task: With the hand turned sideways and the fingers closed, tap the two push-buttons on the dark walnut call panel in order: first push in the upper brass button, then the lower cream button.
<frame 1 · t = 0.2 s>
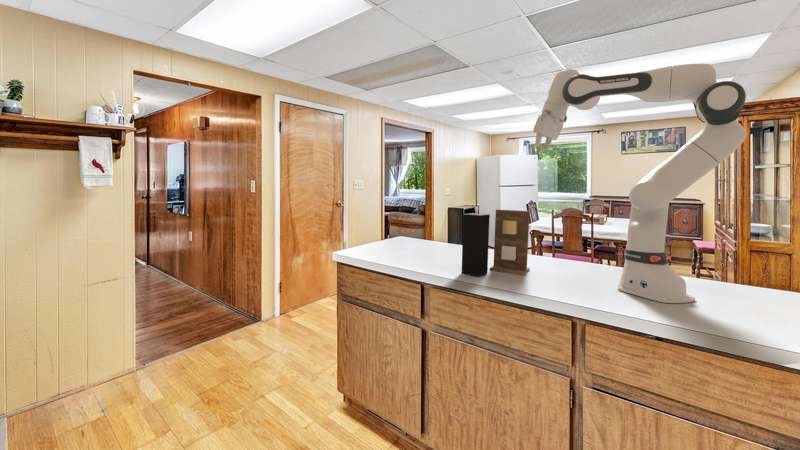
hand: (540, 147, 146), 52 cm above the worktop, tool tilted 15°, fingers open, 8 cm apart
call panel: (509, 270, 156), on the worktop
upper button: (511, 226, 154), point 19 cm above the worktop, slide at 0.0 cm
lower button: (510, 252, 155), point 8 cm above the worktop, slide at 0.0 cm
tall black box: (474, 274, 150), on the worktop
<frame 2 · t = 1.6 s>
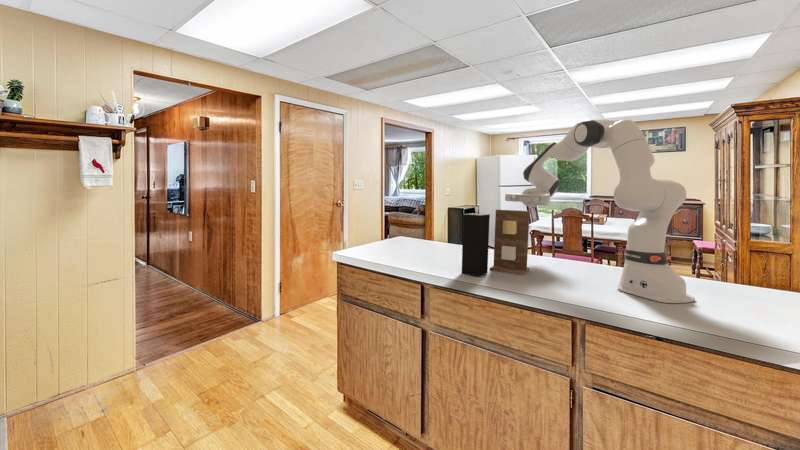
hand: (523, 198, 165), 30 cm above the worktop, tool horizontal, fingers open, 7 cm apart
nothing on the worktop moved.
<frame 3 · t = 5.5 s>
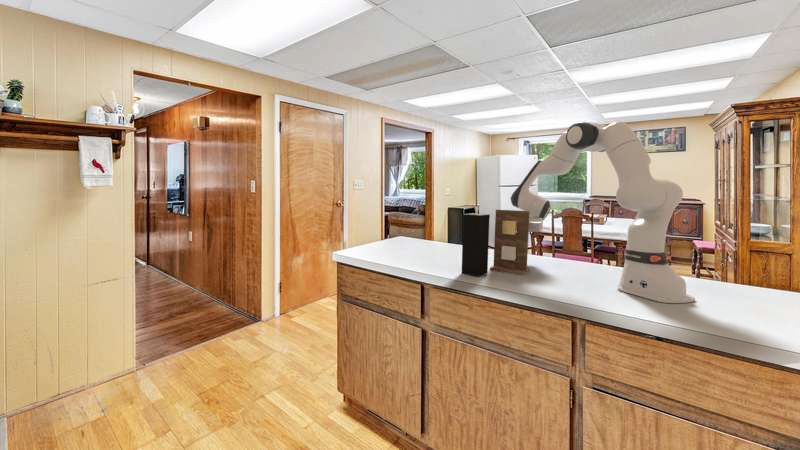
hand: (513, 226, 156), 19 cm above the worktop, tool horizontal, fingers closed, pressing on upper button
upper button: (511, 226, 153), point 19 cm above the worktop, slide at 0.6 cm, touching gripper
everything else where it was.
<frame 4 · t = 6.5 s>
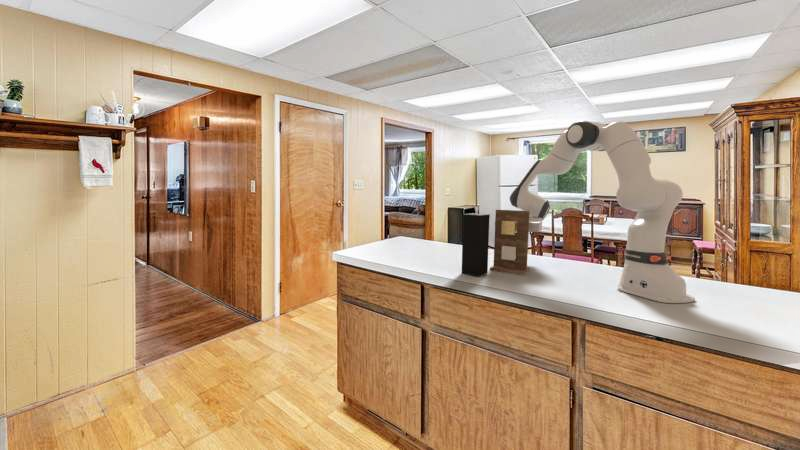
hand: (513, 226, 155), 19 cm above the worktop, tool horizontal, fingers closed
upper button: (510, 227, 153), point 19 cm above the worktop, slide at 1.7 cm
everything else where it was.
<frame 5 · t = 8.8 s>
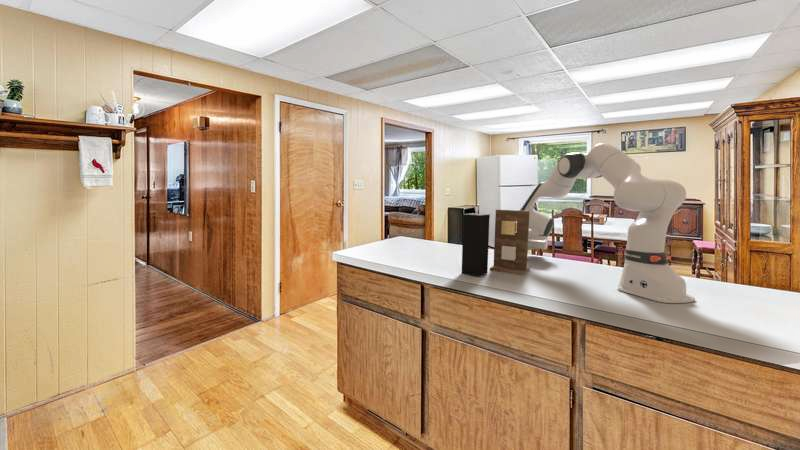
hand: (520, 244, 168), 9 cm above the worktop, tool horizontal, fingers closed
nothing on the worktop moved.
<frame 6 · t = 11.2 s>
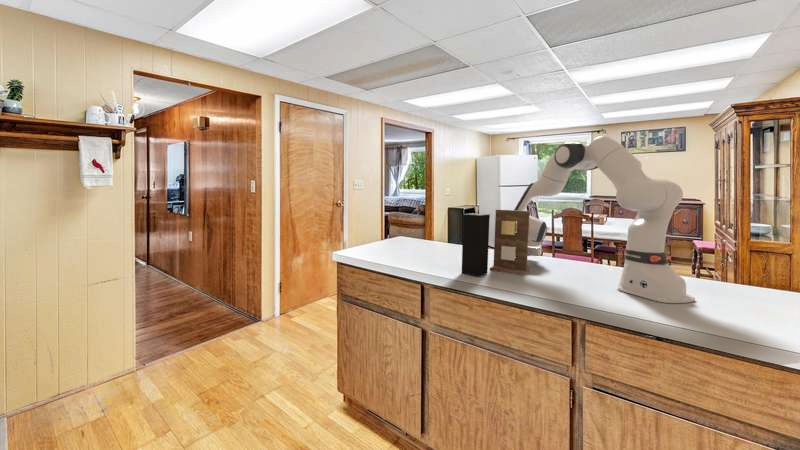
hand: (513, 251, 158), 8 cm above the worktop, tool horizontal, fingers closed, pressing on lower button
lower button: (510, 252, 155), point 8 cm above the worktop, slide at 0.4 cm, touching gripper
everything else where it was.
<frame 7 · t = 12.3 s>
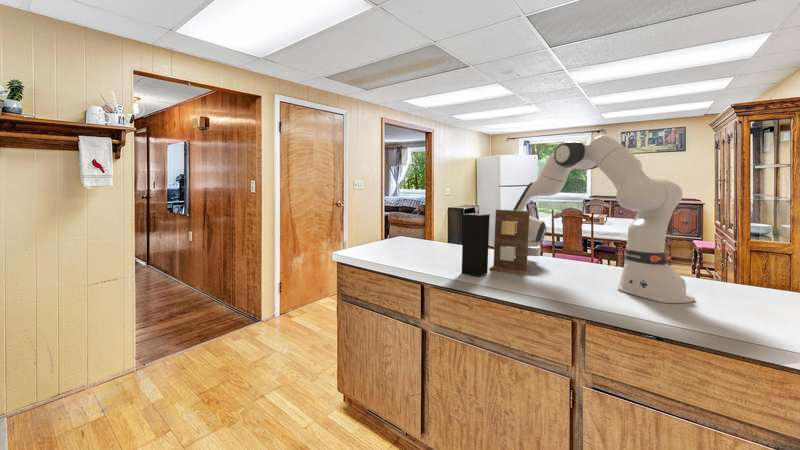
hand: (511, 251, 157), 8 cm above the worktop, tool horizontal, fingers closed
lower button: (509, 252, 154), point 8 cm above the worktop, slide at 1.7 cm
everything else where it was.
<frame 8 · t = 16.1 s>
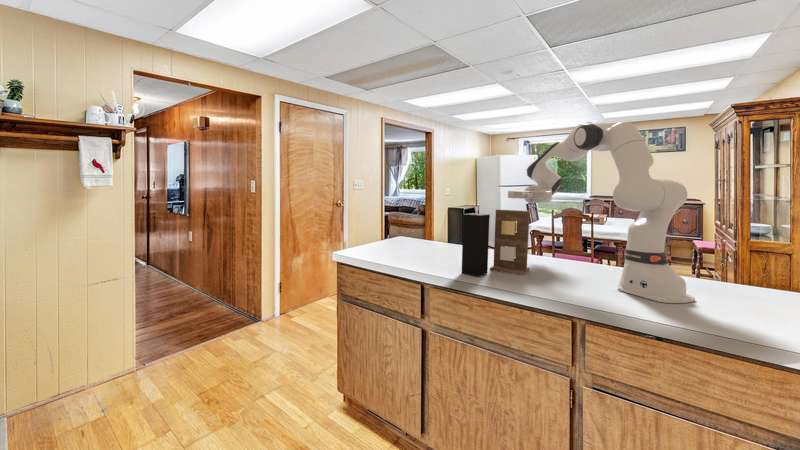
hand: (525, 195, 168), 32 cm above the worktop, tool horizontal, fingers closed
nothing on the worktop moved.
at the end: upper button slide at 1.7 cm; lower button slide at 1.7 cm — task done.
